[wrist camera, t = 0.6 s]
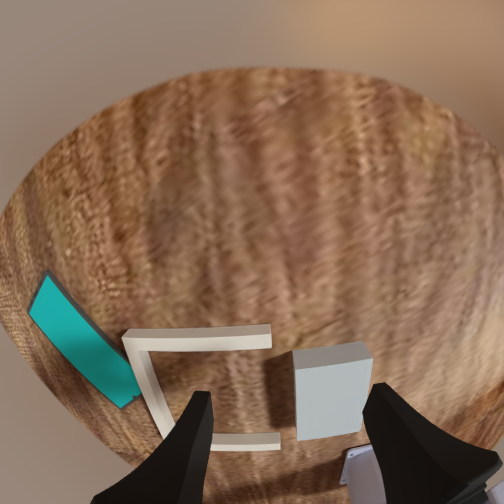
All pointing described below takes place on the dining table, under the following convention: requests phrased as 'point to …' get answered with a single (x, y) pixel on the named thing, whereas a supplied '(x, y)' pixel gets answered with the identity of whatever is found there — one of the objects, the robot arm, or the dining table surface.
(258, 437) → the cream u-shaped bracket
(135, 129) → the dining table surface
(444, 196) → the dining table surface
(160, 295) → the dining table surface
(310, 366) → the light gray box
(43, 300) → the smartphone
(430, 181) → the dining table surface
